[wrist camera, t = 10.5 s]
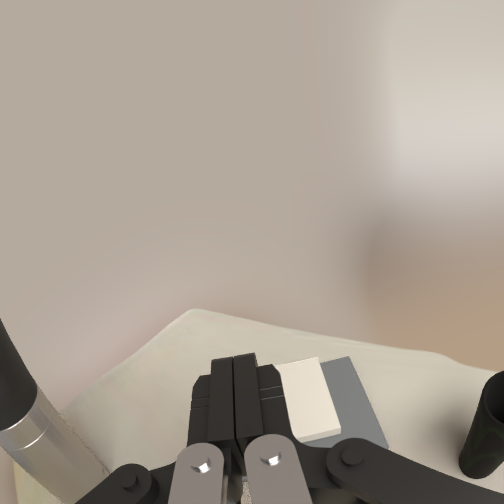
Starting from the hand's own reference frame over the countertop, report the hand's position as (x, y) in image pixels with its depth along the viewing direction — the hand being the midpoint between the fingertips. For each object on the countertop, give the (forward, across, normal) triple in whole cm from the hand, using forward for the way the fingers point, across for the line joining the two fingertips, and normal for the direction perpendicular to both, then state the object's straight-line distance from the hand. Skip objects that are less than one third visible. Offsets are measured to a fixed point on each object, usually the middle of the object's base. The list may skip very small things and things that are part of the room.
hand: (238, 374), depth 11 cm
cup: (+3, -22, +28) cm, 36 cm away
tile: (+14, -2, +26) cm, 30 cm away
